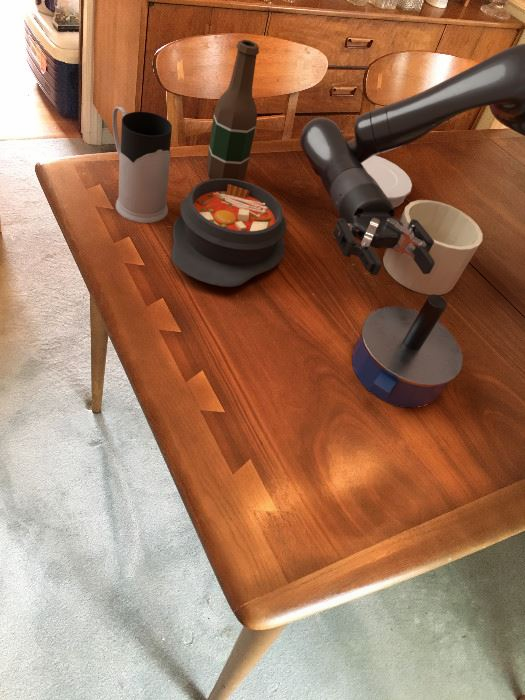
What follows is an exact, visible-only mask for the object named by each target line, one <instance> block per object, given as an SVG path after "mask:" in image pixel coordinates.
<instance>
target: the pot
mask: <svg viewBox="0 0 525 700" xmlns="http://www.w3.org/2000/svg"><path fill="white" fill-rule="evenodd" d="M412 219H415V220H417V221H418V222H419V223H420V224H421V226H422V227H423V228H424V229H425V230H426V232H427V233H428V234H429V235H430V237H431V238H432V239H433V240H434V244H433V245H432V247H431V249H430V251H429V254H430V255H431V257H432V258H433V259H434V261H435V264H434V266H433V268H432V270H431V272H430V273H429V274H423V273H422V271H421V270H420V268H419V267H418V265H417V264H416V262H415V261H414V258H413V257H411V256H410V255H408V254H406V253H402V254H401V253H399V252H397V251H395V250H394V249H392V248H385V250H384V254H383V256H382V262H383V266H384V268H385V270H386V272H387V273H388V275H389V276H390V277H391V278H392V279H393V280H395V281H396V282H397V283H398V284H400V285H402V286H403V287H405V288H406V289H409V290H411V291H413V292H415V293H419V294H423V295H427V296H429V295H432V294H435V295H439V296H441V295H445V294H448V293H449V292H451V291H452V290H453V289H454V288H455V286H456V284H457V283H458V281H459V280H460V278H461V276H462V275H463V273H464V272H465V270H466V269H467V267H468V265H469V264H470V262H471V261H472V259H473V257H474V256H475V254H476V252H477V251H478V249H479V247H480V245H481V244H482V242H483V232H482V229H481V228H480V226H479V224H478V223H476V221H475V220H474V219H473V218H472V217H471V216H469V215H468V214H466V213H465V212H464V211H462V210H460V209H458V208H456V207H454V206H452V205H451V204H447V203H444V202H441V201H438V200H432V199H431V200H430V199H417V200H414V201H410V202H409V203H408V204H407V205H406V206H405V207H404V210H403V212H402V214H401V216H400V218H399V219H398V220H399V221H400V222H402V224H409V223H410V221H411V220H412ZM404 239H405V237H404V235H402V234H401V237H400V239H399V241H398V244H400V245H402V243H403V241H404ZM423 242H424V240H423ZM409 247H410V248H412V249H413V250H414V249H415V246H414V245H413V244H412V243H411V242H410V244H409Z"/></svg>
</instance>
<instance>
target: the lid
mask: <svg viewBox="0 0 525 700" xmlns="http://www.w3.org/2000/svg"><path fill="white" fill-rule="evenodd" d="M361 164H362V165H363V167H364V168H365V170H366V171H367V172H368V174H369V175H371V176H372V177H373V178H374V180H375V181H376V182H377V184H378V185H379V186H380V188H381V189H382V191H383V192H384V193H385V195H386V196H387V198H388V199H389V201H390V202H391V203H392V205H393V208H398V207H399V206H400V205H401V204H403V203H404V202H405V200H406V198H407V196H409V195H410V194H411V191H412V188H413V183H412V181H411V178H410V176H409V175H408V174H407V173H406V171H404V169H402V168H401V167H399V165H397V164H395V163H394V162H391V161H390V160H388V159H386V158H384V157H380V156H378V155H377V154H376V155H374V156H372V157H370V158H369V159H367V160H365V161H364V162H362V163H361Z"/></svg>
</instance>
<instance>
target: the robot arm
mask: <svg viewBox="0 0 525 700" xmlns="http://www.w3.org/2000/svg"><path fill="white" fill-rule="evenodd" d="M487 106H489V107H488V108H489V109H490V110H489V111H490V112H491V114H492V115H493V117H494V118H495V119H496V121H498V122H499V123H500V124H501V125H503V126H505V127H506V128H508V129H510V130H512V131H514V132H516V133H518V134H519V135H521V136H523V137H525V43H520V44H517V45H514V46H511V47H508V48H505V49H503V50H501V51H499V52H498V53H496V54H494V55H492V56H490V57H488V58H485V59H484V60H482V61H480V62H478V63H476V64H475V65H473V66H471V67H468V68H467V69H465V70H463V71H461V72H459V73H456V74H455V75H453V76H451V77H449V78H447V79H446V80H443V81H442V82H439V83H438V84H436V85H434V86H431V87H429V88H427V89H425V90H423V91H421V92H419V93H416V94H414V95H411V96H409V97H406V98H403V99H401V100H398V101H395V102H392V103H389V104H386V105H384V106H381V107H378V108H374V109H372V110H370V111H367V112H364V113H361V114H360V115H358V116H357V117H356V118H355V119H354V123H353V129H354V137H353V138H351V139H350V140H348V141H347V140H346V138H345V136H344V134H343V132H342V130H341V129H340V127H339V126H338V124H337V123H336V122H335V121H334V120H332V119H330V118H327V117H314V118H313V119H311V120H309V121H308V122H307V123H306V124H305V125H304V126H303V127H302V130H301V132H300V136H299V144H300V147H301V150H302V152H303V154H304V156H305V157H306V159H307V161H308V163H309V165H310V166H311V168H312V170H313V173H315V174H316V175H317V176H318V177H320V181H321V183H322V185H323V188H324V189H325V191H326V193H327V194H328V196H329V197H330V199H331V201H332V205H333V207H334V209H335V210H336V212H337V214H338V216H339V218H338V219H337V222H336V223H335V227H334V229H333V233H332V234H333V236H334V238H335V240H336V243H337V245H338V246H339V248H340V250H341V253H342V256H344V257H347V258H350V257H352V256H355V258H356V259H357V260H359V261H360V262H361V263H362V265H363V267H364V268H365V271H367V272H368V273H370V275H371V276H378V275H379V273H380V271H381V269H382V265H383V264H382V261H381V259H380V258H379V256H378V254H377V253H376V251H375V250H374V249H383V248H385V249H386V248H392V249H394V250H395V251H397V252H399V253H401V254H402V253H406V254H408V255H410V256H411V257H413V258H414V261H415V262H416V264H417V265H418V267H419V268H420V270H421V271H422V273H423V274H429V273H430V272H431V270H432V268H433V266H434V264H435V261H434V259H433V258H432V257H431V255H430V254H429V251H430V249H431V247H432V245H433V244H434V240H433V239H432V238H431V237H430V235H429V234H428V233H427V232H426V230H425V229H424V228H423V227H422V226H421V224H420V223H419V222H418V221H417V220H415V219H412V220H411V221H410V223H409V224H402V222H400V221H399V220H400V219H398V218H397V217H396V214H395V209H394V208H395V207H394V208H393V205H392V203H391V202H390V201H389V199H388V198H387V196H386V195H385V193H384V192H383V191H382V189H381V188H380V186H379V185H378V184H377V182H376V181H375V180H374V178H373V177H372V176H371V175H369V174H368V172H367V171H366V170H365V168H364V167H363V165H362V164H361V163H362V162H364V161H365V160H367V159H369V158H370V157H372V156H374V155H376V156H377V155H380V154H382V153H383V154H384V153H387V152H390V151H393V150H395V149H399V148H401V147H404V146H407V145H410V144H412V143H414V142H417V141H418V140H420V139H421V138H423V137H425V136H426V135H428V134H429V133H431V132H432V131H434V130H436V129H437V128H438V127H439V126H441V125H442V124H444V123H446V122H447V121H448V120H451V119H452V118H455V117H457V116H459V115H461V114H464V113H466V112H468V111H472V110H474V109H475V110H476V109H479V108H483V107H487ZM401 234H402V235H404V237H405V239H404V241H403V243H402V245H400V244H398V241H399V239H400V237H401ZM356 239H358V240H360V241H361V242H357V240H356ZM423 240H424V242H423ZM410 242H411V243H412V244H413V245H414V246H415V249H414V250H413V249H412V248H410V247H409V244H410Z"/></svg>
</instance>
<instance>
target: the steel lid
mask: <svg viewBox="0 0 525 700" xmlns="http://www.w3.org/2000/svg"><path fill="white" fill-rule="evenodd" d="M447 306H448V301H447V300H446V299H445V298H444V297H442V296H441V295H435V294H432V295H427V298H426V300H425V301H424V303H423V305H422V306H421V308H420V311H418V310H416V309H413V308H409V307H404V306H385V307H381V308H377V309H375V310H373V311H372V312H370V313H369V314H368V315H367V316H366V318H365V319H364V320H363V323H362V325H361V329H360V335H361V337H362V342H363V345H364V347H365V349H366V351H367V353H368V354H369V356H370V357H371V358H372V359H373V361H374V362H375V363H376V364H377V365H378V366H379V367H381V368H382V369H383V370H384V371H386V372H387V373H389V374H390V375H392V376H394V377H396V378H397V379H400V380H402V381H404V382H407V383H410V384H414V385H418V386H425V387H434V386H440V385H444V384H449V383H450V382H453V380H454V379H456V378H457V376H458V375H459V373H460V372H461V370H462V367H463V359H464V358H463V353H462V350H461V347H460V345H459V343H458V341H457V340H456V338H455V337H454V336H453V334H452V333H451V332H450V330H448V329H447V328H446V327H445V326H444V325H443V324H441V323H440V318H441V317H442V315H443V314H444V312H445V310H446V308H447ZM438 320H439V322H437V321H438Z"/></svg>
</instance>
